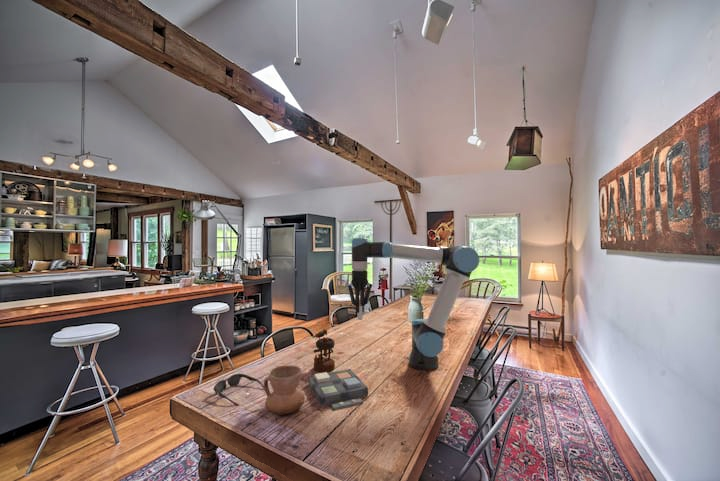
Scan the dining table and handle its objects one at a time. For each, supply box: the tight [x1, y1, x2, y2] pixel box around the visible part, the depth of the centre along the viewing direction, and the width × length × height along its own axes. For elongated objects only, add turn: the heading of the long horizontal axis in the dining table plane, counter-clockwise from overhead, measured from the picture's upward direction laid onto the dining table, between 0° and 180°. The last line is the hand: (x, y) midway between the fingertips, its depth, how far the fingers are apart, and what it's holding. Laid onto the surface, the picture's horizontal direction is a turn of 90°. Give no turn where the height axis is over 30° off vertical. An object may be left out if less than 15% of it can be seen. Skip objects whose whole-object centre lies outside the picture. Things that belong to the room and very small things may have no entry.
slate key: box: [344, 377, 361, 389], centre depth 125 cm, size 6×6×2 cm
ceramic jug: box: [263, 365, 306, 416], centre depth 114 cm, size 18×14×14 cm
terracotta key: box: [336, 372, 352, 379], centre depth 134 cm, size 6×6×2 cm
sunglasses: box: [213, 373, 264, 407], centre depth 125 cm, size 16×17×5 cm
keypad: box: [307, 368, 369, 408], centre depth 127 cm, size 20×20×4 cm
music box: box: [311, 328, 336, 374], centre depth 150 cm, size 15×11×20 cm
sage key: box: [321, 385, 338, 394], centre depth 121 cm, size 6×6×2 cm
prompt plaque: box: [330, 398, 364, 411], centre depth 116 cm, size 12×3×1 cm, turn 113°
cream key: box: [314, 372, 330, 383], centre depth 130 cm, size 6×6×2 cm
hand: (359, 319), depth 143 cm, fingers closed
